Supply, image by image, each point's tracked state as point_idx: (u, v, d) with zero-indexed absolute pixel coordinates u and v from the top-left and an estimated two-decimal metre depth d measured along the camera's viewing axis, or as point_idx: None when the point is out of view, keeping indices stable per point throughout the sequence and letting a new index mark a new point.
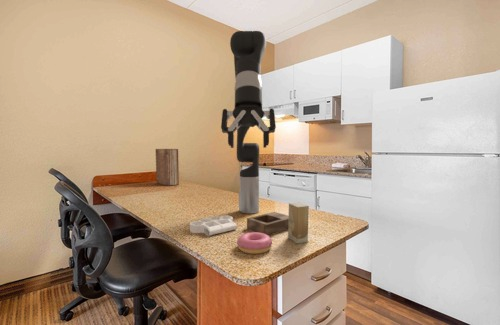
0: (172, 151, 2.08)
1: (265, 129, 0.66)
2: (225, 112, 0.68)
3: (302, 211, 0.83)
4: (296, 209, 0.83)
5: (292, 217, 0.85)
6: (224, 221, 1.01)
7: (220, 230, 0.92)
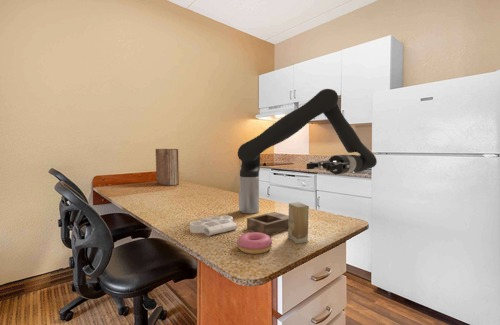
0: (172, 151, 2.08)
1: (314, 168, 0.98)
2: None
3: (302, 211, 0.83)
4: (296, 209, 0.83)
5: (292, 217, 0.85)
6: (224, 221, 1.01)
7: (220, 230, 0.92)
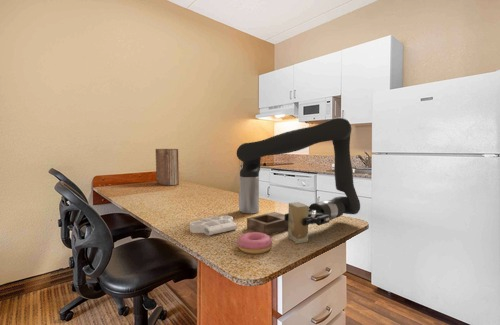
0: (172, 151, 2.08)
1: None
2: None
3: (302, 211, 0.83)
4: (296, 209, 0.83)
5: (292, 217, 0.85)
6: (224, 221, 1.01)
7: (220, 230, 0.92)
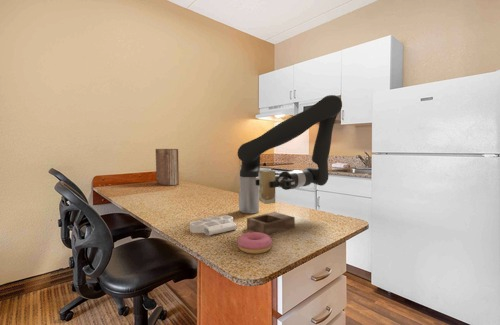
0: (172, 151, 2.08)
1: None
2: (291, 186, 0.97)
3: (269, 175, 0.94)
4: (264, 174, 0.94)
5: (261, 181, 0.96)
6: (224, 221, 1.01)
7: (220, 230, 0.92)
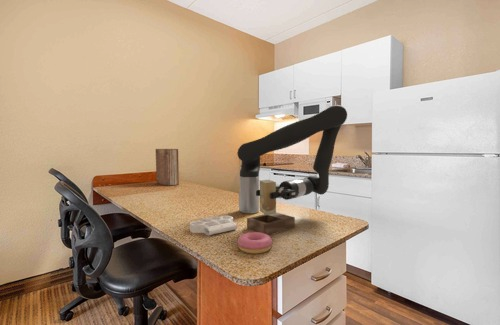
0: (172, 151, 2.08)
1: None
2: None
3: (270, 186, 0.94)
4: (264, 185, 0.94)
5: (262, 192, 0.96)
6: (224, 221, 1.01)
7: (220, 230, 0.92)
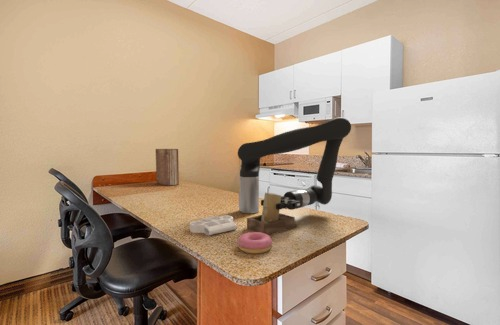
0: (172, 151, 2.08)
1: None
2: None
3: (275, 199, 0.95)
4: (270, 196, 0.96)
5: (266, 204, 0.98)
6: (224, 221, 1.01)
7: (220, 230, 0.92)
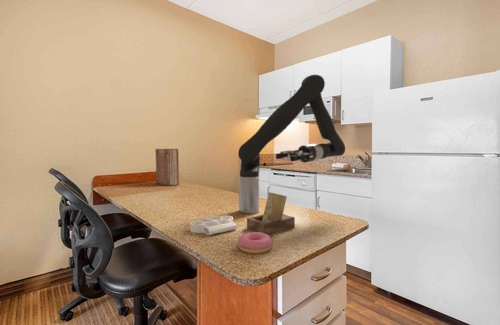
0: (172, 151, 2.08)
1: None
2: None
3: (281, 199, 0.97)
4: (277, 196, 0.96)
5: (271, 204, 0.97)
6: (224, 221, 1.01)
7: (220, 230, 0.93)
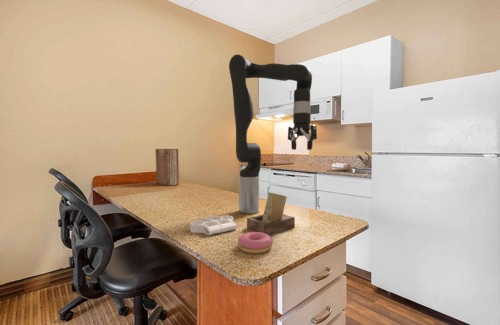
0: (172, 151, 2.08)
1: None
2: None
3: (281, 199, 0.97)
4: (277, 196, 0.96)
5: (271, 204, 0.97)
6: (224, 221, 1.01)
7: (219, 230, 0.93)
